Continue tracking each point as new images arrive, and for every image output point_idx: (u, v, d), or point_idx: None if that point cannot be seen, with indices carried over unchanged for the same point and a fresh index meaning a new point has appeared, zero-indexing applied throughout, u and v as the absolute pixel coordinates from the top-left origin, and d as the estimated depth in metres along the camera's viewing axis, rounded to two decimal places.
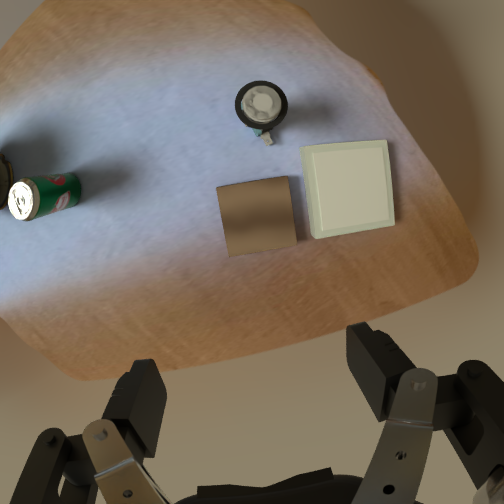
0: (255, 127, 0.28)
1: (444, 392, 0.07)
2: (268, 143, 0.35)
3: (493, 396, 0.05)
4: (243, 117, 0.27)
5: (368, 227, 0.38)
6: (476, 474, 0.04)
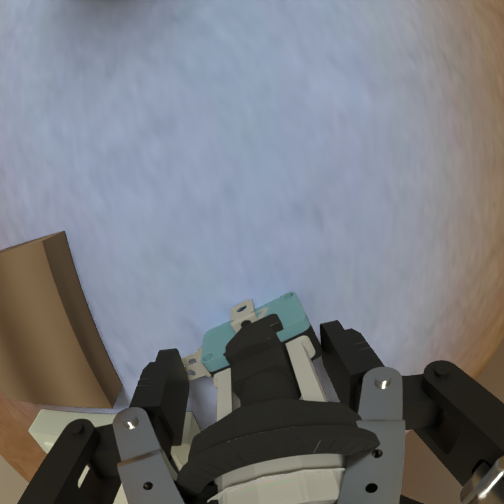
0: (180, 489, 0.05)
1: (410, 392, 0.07)
2: None
3: (465, 395, 0.06)
4: (221, 467, 0.05)
5: None
6: (458, 471, 0.05)
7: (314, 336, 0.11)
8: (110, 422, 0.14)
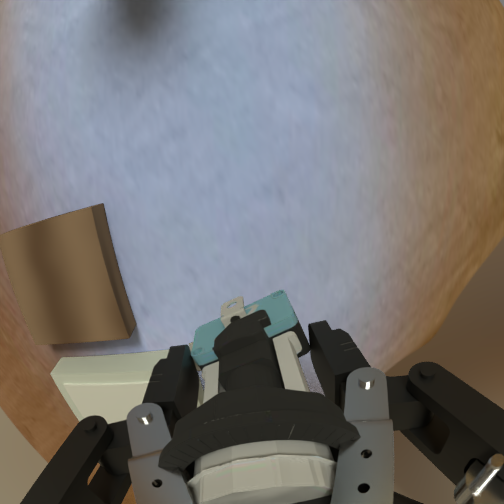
0: None
1: (394, 393, 0.07)
2: None
3: (453, 395, 0.06)
4: (199, 449, 0.05)
5: None
6: (450, 470, 0.05)
7: (301, 333, 0.12)
8: (123, 359, 0.20)
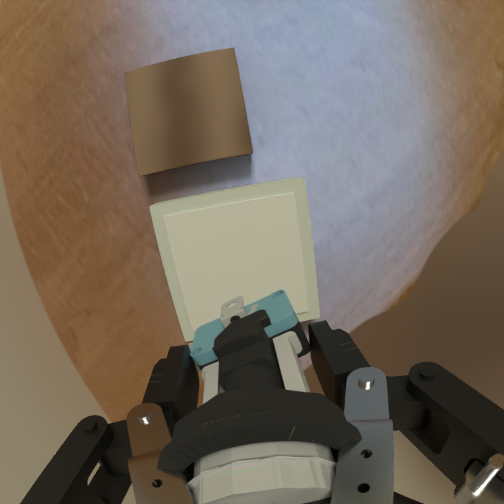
0: None
1: (394, 393, 0.07)
2: None
3: (453, 395, 0.06)
4: (198, 450, 0.05)
5: (175, 297, 0.24)
6: (449, 470, 0.05)
7: (302, 333, 0.12)
8: (234, 187, 0.23)
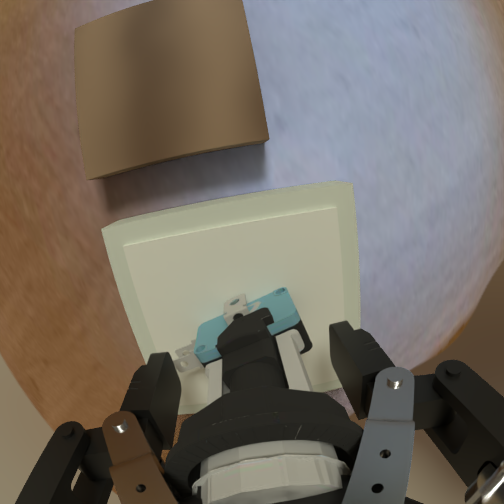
0: (168, 472, 0.05)
1: (421, 391, 0.07)
2: (177, 364, 0.13)
3: (475, 395, 0.05)
4: (207, 449, 0.05)
5: None
6: (464, 471, 0.05)
7: (304, 330, 0.12)
8: (238, 196, 0.15)
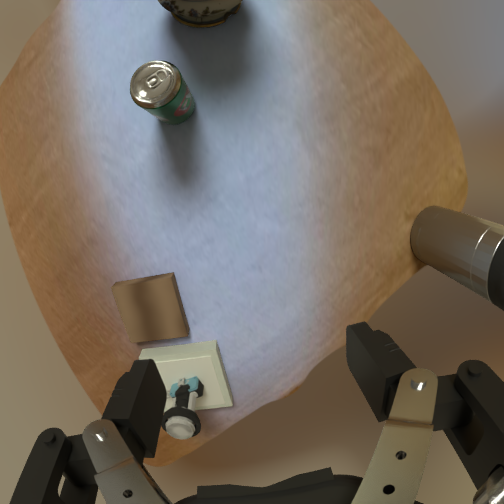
0: None
1: (444, 392, 0.07)
2: None
3: (493, 396, 0.05)
4: (167, 416, 0.32)
5: None
6: (476, 474, 0.04)
7: (199, 391, 0.39)
8: (181, 347, 0.42)
